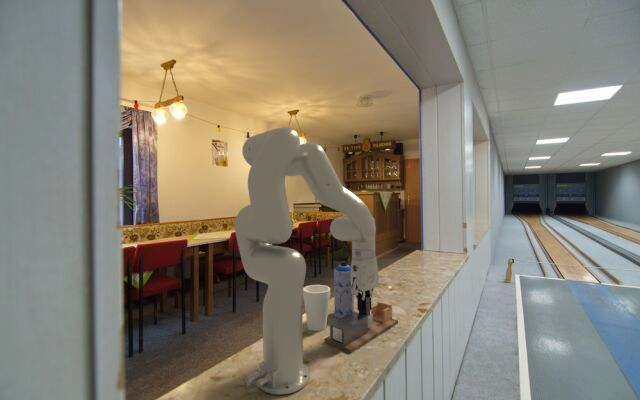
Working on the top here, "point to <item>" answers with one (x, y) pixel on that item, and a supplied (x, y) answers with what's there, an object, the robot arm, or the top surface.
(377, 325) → the track board
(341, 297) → the aerosol can
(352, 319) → the outer sleeve
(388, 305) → the socket block
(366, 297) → the square sliding rod
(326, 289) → the foam cup
